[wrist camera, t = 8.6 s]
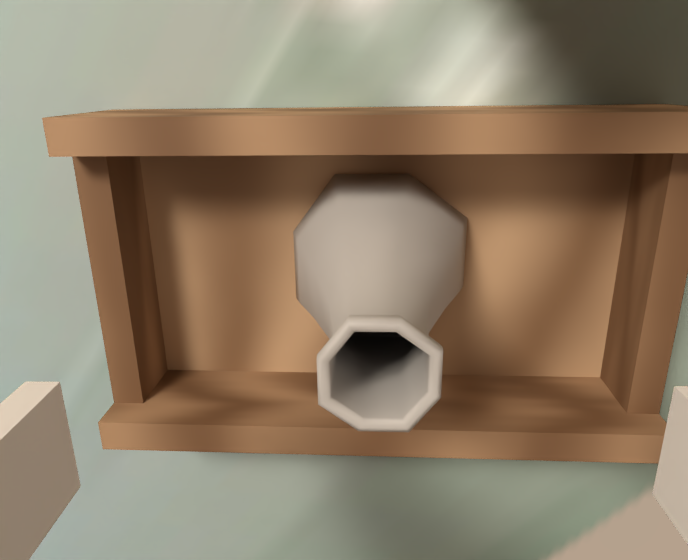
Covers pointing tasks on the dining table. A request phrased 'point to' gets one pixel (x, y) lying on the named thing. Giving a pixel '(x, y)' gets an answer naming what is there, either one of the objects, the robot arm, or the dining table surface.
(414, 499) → the dining table surface
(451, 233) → the flask
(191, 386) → the wooden tray
